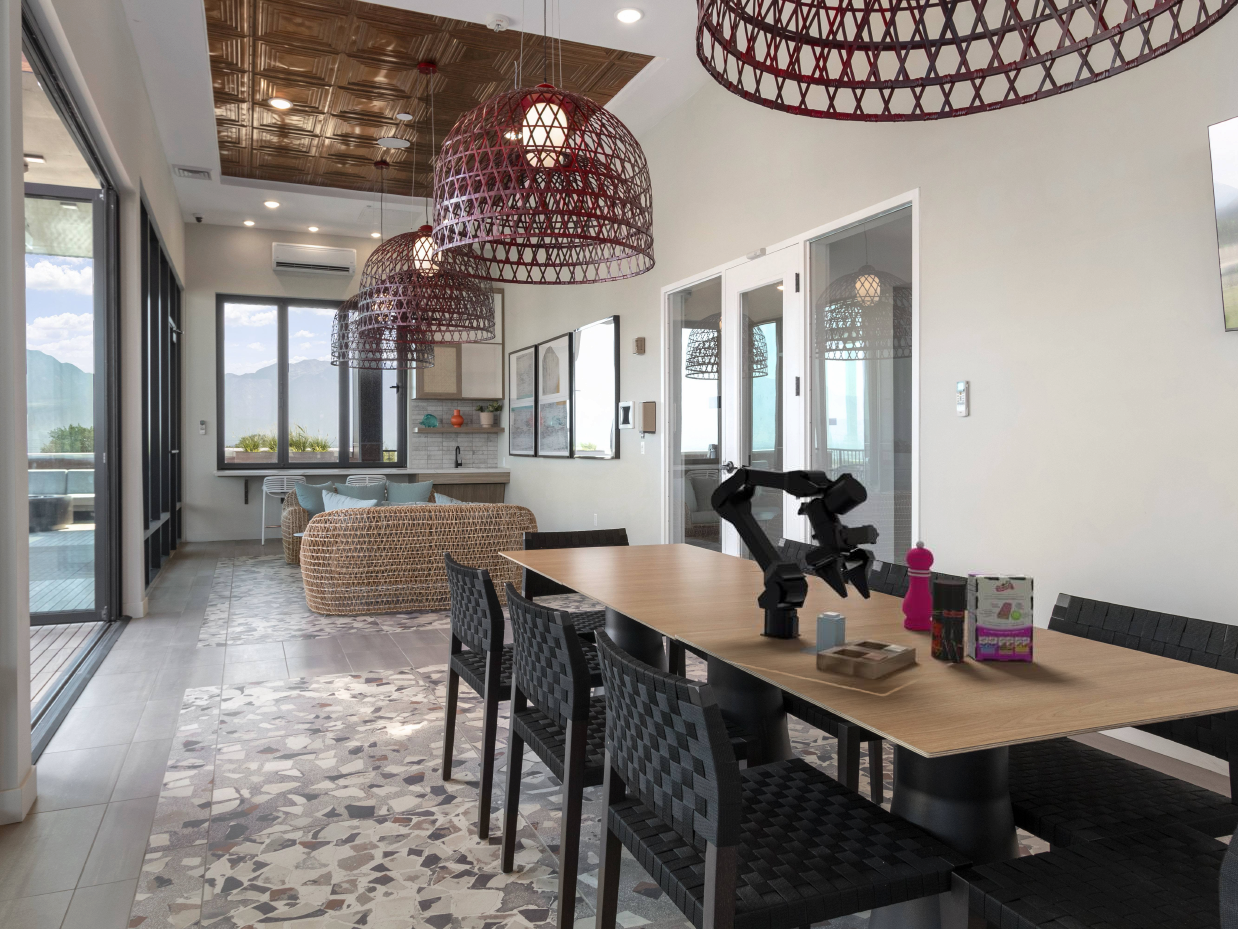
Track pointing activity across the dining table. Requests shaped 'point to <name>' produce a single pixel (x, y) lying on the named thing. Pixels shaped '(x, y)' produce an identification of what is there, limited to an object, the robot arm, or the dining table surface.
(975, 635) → the candy bar box
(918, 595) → the pepper mill
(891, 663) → the socket block
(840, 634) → the plug
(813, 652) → the pad
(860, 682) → the dining table surface
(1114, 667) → the dining table surface
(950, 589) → the deodorant
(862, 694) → the dining table surface
